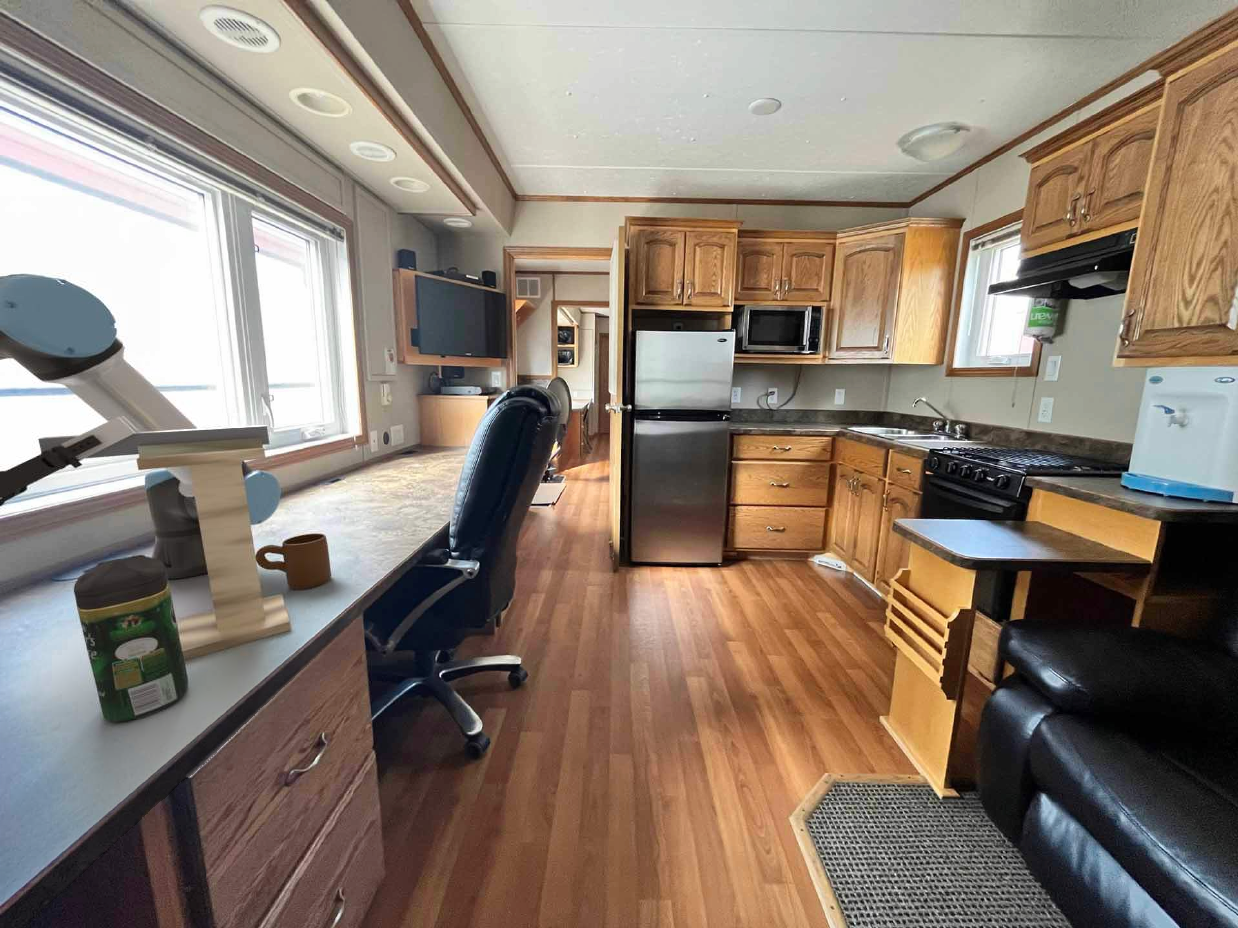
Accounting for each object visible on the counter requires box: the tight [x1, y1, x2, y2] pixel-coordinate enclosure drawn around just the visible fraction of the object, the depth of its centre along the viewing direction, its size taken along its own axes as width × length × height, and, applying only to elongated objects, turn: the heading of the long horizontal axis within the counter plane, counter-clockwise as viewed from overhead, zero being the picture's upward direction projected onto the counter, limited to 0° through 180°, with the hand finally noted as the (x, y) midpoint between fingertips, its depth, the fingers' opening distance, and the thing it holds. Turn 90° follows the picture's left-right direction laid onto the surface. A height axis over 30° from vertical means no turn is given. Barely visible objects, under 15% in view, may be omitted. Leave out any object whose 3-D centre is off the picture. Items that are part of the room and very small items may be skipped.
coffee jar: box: [73, 554, 189, 724], centre depth 58 cm, size 10×8×19 cm
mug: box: [255, 532, 332, 591], centre depth 94 cm, size 12×8×9 cm, turn 120°
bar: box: [37, 424, 270, 459], centre depth 70 cm, size 3×24×3 cm, turn 130°
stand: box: [136, 438, 291, 661], centre depth 75 cm, size 14×14×32 cm
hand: (128, 424), depth 67 cm, fingers closed on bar, 3 cm apart
